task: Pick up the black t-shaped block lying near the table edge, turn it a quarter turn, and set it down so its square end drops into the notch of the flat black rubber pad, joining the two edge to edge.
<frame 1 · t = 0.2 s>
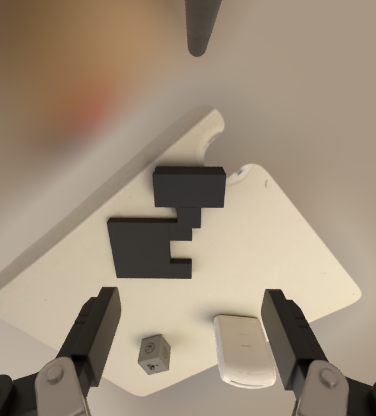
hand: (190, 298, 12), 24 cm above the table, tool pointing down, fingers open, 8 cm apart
photo printer: (236, 320, 49), on the table
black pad: (153, 247, 41), on the table
dice cube: (156, 342, 53), on the table
black t-shaped block: (189, 182, 35), on the table
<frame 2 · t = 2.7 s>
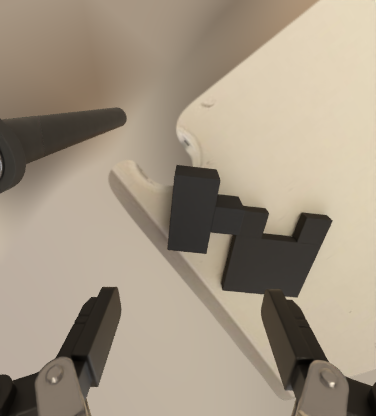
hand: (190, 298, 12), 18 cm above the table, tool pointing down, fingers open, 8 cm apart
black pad: (269, 252, 33), on the table
black t-shaped block: (191, 203, 30), on the table
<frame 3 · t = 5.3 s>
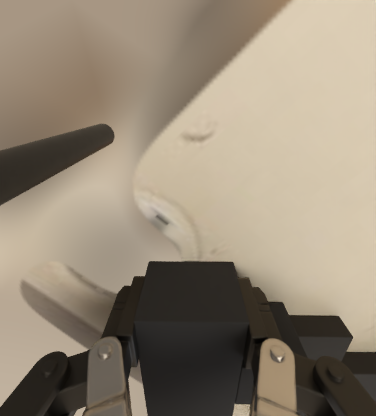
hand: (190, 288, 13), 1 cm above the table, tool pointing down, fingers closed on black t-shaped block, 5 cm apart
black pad: (344, 375, 18), on the table
black t-shaped block: (190, 319, 15), on the table, touching gripper
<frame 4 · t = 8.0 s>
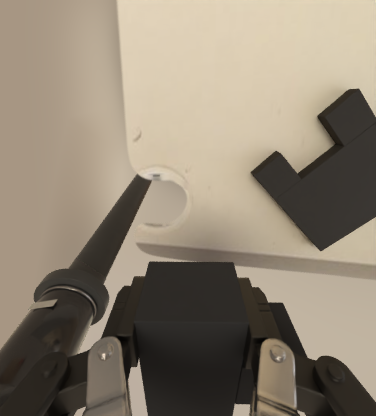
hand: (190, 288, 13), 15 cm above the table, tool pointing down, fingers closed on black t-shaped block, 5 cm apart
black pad: (329, 179, 26), on the table
black t-shaped block: (190, 319, 15), point 14 cm above the table, touching gripper
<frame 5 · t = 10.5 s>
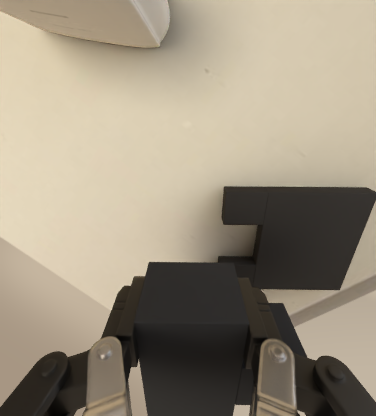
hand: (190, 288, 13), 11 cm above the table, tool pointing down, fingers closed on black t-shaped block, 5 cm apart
photo printer: (100, 10, 16), on the table
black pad: (283, 238, 25), on the table
black t-shaped block: (190, 319, 15), point 10 cm above the table, touching gripper
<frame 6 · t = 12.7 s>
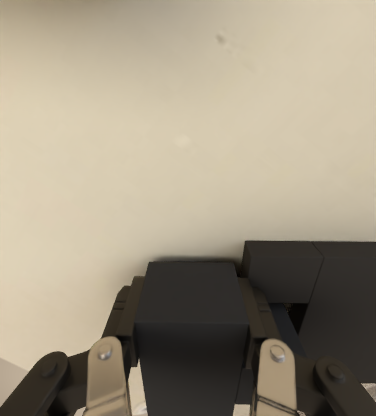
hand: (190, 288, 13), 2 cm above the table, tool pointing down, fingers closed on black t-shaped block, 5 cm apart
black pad: (333, 311, 16), on the table
black t-shaped block: (190, 319, 15), point 1 cm above the table, touching gripper
when the fingers open (2 cm above the table, at t = 15.5 s): black t-shaped block stays where it is, on the table.
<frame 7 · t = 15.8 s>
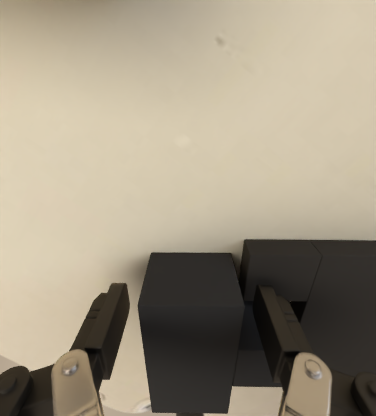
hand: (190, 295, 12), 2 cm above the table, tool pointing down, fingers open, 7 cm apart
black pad: (332, 310, 16), on the table
black t-shaped block: (190, 309, 16), on the table
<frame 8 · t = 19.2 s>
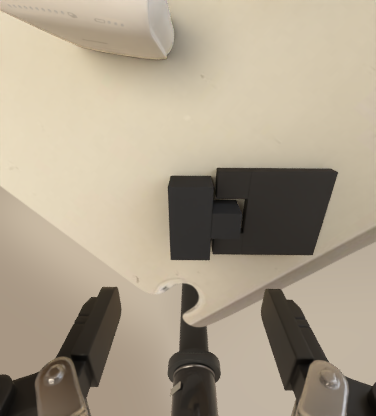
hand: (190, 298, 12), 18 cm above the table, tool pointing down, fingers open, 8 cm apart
photo printer: (122, 31, 22), on the table
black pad: (266, 211, 30), on the table
black t-shaped block: (190, 211, 30), on the table
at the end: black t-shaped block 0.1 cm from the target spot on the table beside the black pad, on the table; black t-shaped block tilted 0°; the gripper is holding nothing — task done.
